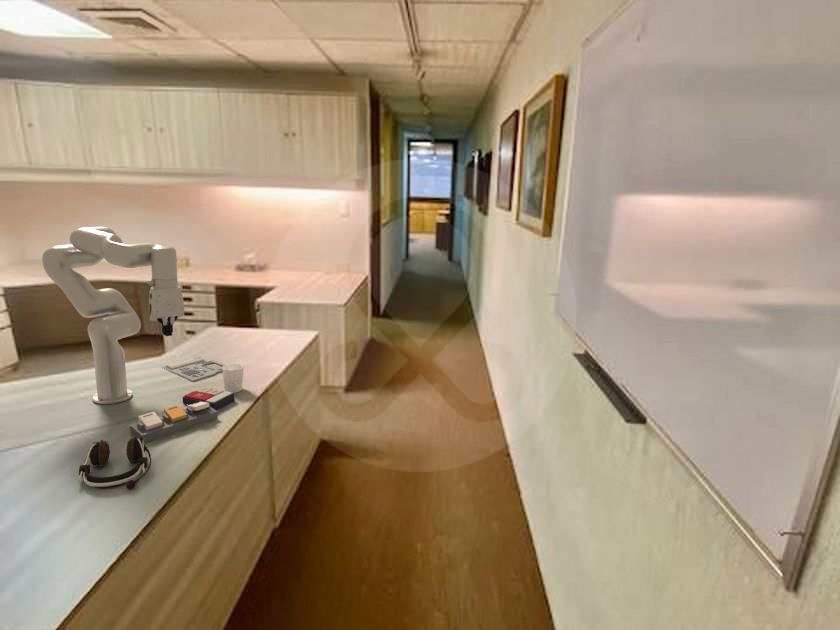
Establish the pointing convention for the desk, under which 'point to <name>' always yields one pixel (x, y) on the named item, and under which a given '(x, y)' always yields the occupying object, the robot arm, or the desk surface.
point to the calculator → (210, 397)
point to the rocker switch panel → (174, 424)
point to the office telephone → (194, 369)
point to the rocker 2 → (198, 406)
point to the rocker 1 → (150, 420)
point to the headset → (101, 456)
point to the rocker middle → (175, 413)
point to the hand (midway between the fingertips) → (167, 335)
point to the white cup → (233, 377)
